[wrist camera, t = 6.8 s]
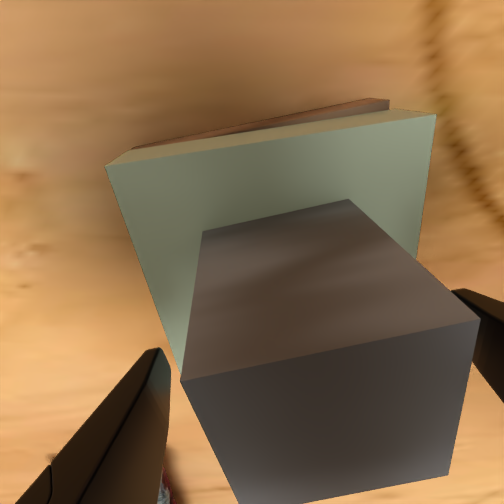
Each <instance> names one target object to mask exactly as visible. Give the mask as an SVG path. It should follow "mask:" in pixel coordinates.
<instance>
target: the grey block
mask: <svg viewBox="0 0 504 504" xmlns="http://www.w3.org/2000/svg"><path fill="white" fill-rule="evenodd" d="M480 320H481V319H480V318H479V317H478V316H477V315H476V314H475V313H474V312H473V311H472V310H471V309H469V308H468V307H467V306H466V305H465V304H464V303H463V302H462V301H461V300H460V299H458V298H457V297H456V296H455V295H454V294H453V293H452V292H451V291H450V290H449V289H447V288H446V287H445V286H444V285H443V284H442V283H441V282H440V281H439V280H438V279H436V278H435V277H434V276H433V275H432V274H431V273H430V272H429V271H428V270H427V269H425V268H424V267H423V266H422V265H421V264H420V263H419V262H418V261H417V260H416V259H414V258H413V257H412V256H411V255H410V254H409V253H408V252H407V251H406V250H405V249H404V248H402V247H401V246H400V245H399V244H398V243H397V242H396V241H395V240H394V239H393V238H391V237H390V236H389V235H388V234H387V233H386V232H385V231H384V230H383V229H382V228H380V227H379V226H378V225H377V224H376V223H375V222H374V221H373V220H372V219H371V218H369V217H368V216H367V215H366V214H365V213H364V212H363V211H362V210H361V209H360V208H358V207H357V206H356V205H355V204H354V203H353V202H352V201H351V200H350V199H345V200H341V201H336V202H332V203H327V204H323V205H318V206H314V207H309V208H305V209H300V210H296V211H291V212H287V213H282V214H278V215H273V216H269V217H264V218H260V219H255V220H251V221H246V222H242V223H237V224H233V225H228V226H224V227H219V228H215V229H210V230H206V231H202V238H201V245H200V252H199V258H198V265H197V272H196V278H195V285H194V292H193V298H192V305H191V312H190V318H189V325H188V332H187V338H186V345H185V352H184V358H183V365H182V372H181V378H180V382H181V385H182V387H183V389H184V391H185V393H186V395H187V397H188V399H189V401H190V403H191V405H192V407H193V409H194V412H195V414H196V416H197V418H198V420H199V422H200V424H201V426H202V428H203V430H204V432H205V434H206V436H207V439H208V441H209V443H210V445H211V447H212V449H213V451H214V453H215V455H216V457H217V459H218V461H219V463H220V465H221V468H222V470H223V472H224V474H225V476H226V478H227V480H228V482H229V484H230V486H231V488H232V490H233V492H234V495H235V497H236V499H237V501H238V503H239V504H303V503H308V502H313V501H318V500H323V499H329V498H334V497H339V496H344V495H349V494H354V493H359V492H364V491H370V490H375V489H380V488H385V487H390V486H395V485H400V484H406V483H411V482H416V481H421V480H426V479H431V478H436V477H441V476H447V475H448V473H449V468H450V464H451V459H452V454H453V449H454V444H455V440H456V435H457V430H458V425H459V420H460V416H461V411H462V406H463V401H464V396H465V392H466V387H467V382H468V377H469V372H470V368H471V363H472V358H473V353H474V348H475V344H476V339H477V334H478V329H479V325H480Z"/></svg>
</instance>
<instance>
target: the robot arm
mask: <svg viewBox="0 0 504 504" xmlns="http://www.w3.org/2000/svg"><path fill="white" fill-rule="evenodd" d="M451 292H452V293H453V294H454V295H455V296H456V297H457V298H458V299H460V300H461V301H462V302H463V303H464V304H465V305H466V306H467V307H468V308H469V309H471V310H472V311H473V312H474V313H475V314H476V315H477V316H478V317H479V318H480V319H481V320H480V325H479V329H478V334H477V339H476V344H475V348H474V353H473V358H472V362H473V363H474V365H475V366H476V368H477V369H478V370H479V372H480V373H481V374H482V376H483V377H484V378H485V380H486V381H487V382H488V383H489V385H490V386H491V387H492V389H493V390H494V391H495V393H496V394H497V395H498V396H499V398H500V399H501V400H502V402H503V403H504V302H501V301H498V300H496V299H493V298H490V297H487V296H485V295H482V294H479V293H476V292H474V291H471V290H468V289H465V288H461V289H456V290H451ZM170 387H171V369H170V365H169V363H168V361H167V359H166V356H165V354H164V352H163V350H162V349H161V348H159V347H158V348H153V349H148V350H146V351H145V352H144V353H143V354H142V356H141V357H140V358H139V359H138V360H137V361H136V363H135V364H134V365H133V366H132V367H131V369H130V370H129V371H128V372H127V373H126V374H125V376H124V377H123V378H122V379H121V380H120V381H119V383H118V384H117V385H116V386H115V387H114V389H113V390H112V391H111V392H110V393H109V394H108V396H107V397H106V398H105V399H104V400H103V401H102V403H101V404H100V405H99V406H98V407H97V409H96V410H95V411H94V412H93V413H92V414H91V416H90V417H89V418H88V419H87V420H86V421H85V423H84V424H83V425H82V426H81V427H80V429H79V430H78V431H77V432H76V433H75V434H74V436H73V437H72V438H71V439H70V440H69V441H68V443H67V444H66V445H65V446H64V447H63V448H62V450H61V451H60V452H59V453H58V454H57V456H56V457H55V458H54V459H53V460H52V462H51V465H48V466H47V467H46V468H45V470H44V471H43V472H42V473H41V474H40V475H39V477H38V478H37V479H36V480H35V481H34V482H33V484H32V485H31V486H30V487H29V488H28V489H27V490H26V492H25V493H24V494H23V495H22V496H21V497H20V498H19V499H18V501H17V502H16V503H15V504H157V502H158V496H159V489H160V482H161V476H162V469H163V462H164V456H165V449H166V442H167V435H168V428H169V412H170Z"/></svg>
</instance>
